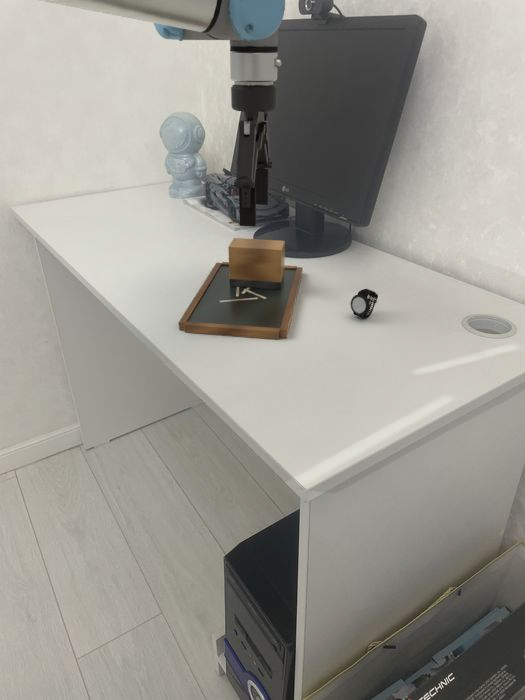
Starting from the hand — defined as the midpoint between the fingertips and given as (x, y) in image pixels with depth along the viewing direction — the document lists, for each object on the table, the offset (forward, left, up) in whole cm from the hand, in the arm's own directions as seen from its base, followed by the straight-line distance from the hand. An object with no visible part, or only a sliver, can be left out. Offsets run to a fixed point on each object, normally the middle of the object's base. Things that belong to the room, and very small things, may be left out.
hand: (254, 214), depth 94 cm
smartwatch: (+21, -9, -15) cm, 27 cm away
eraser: (0, 0, -14) cm, 14 cm away
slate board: (-1, -5, -15) cm, 16 cm away
